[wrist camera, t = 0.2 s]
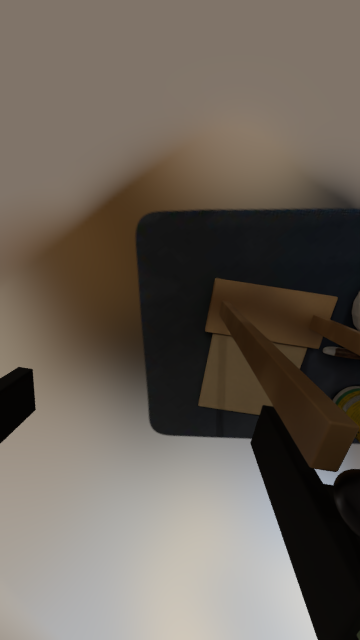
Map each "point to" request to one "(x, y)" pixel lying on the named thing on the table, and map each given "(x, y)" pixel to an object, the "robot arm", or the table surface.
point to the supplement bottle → (350, 404)
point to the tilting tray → (349, 500)
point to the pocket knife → (340, 352)
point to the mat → (237, 377)
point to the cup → (356, 312)
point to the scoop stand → (277, 370)
